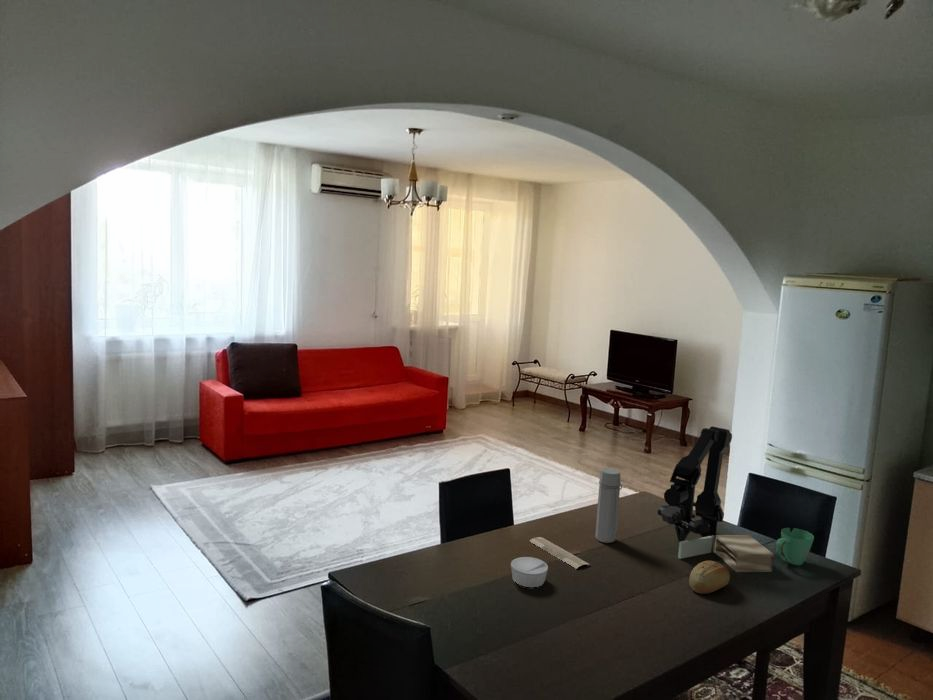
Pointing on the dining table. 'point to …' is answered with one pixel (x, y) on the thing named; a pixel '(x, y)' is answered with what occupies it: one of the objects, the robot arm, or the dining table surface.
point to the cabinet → (743, 553)
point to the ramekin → (529, 571)
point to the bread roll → (708, 577)
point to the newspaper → (558, 552)
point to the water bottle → (608, 505)
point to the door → (696, 547)
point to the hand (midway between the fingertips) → (680, 542)
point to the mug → (794, 545)
